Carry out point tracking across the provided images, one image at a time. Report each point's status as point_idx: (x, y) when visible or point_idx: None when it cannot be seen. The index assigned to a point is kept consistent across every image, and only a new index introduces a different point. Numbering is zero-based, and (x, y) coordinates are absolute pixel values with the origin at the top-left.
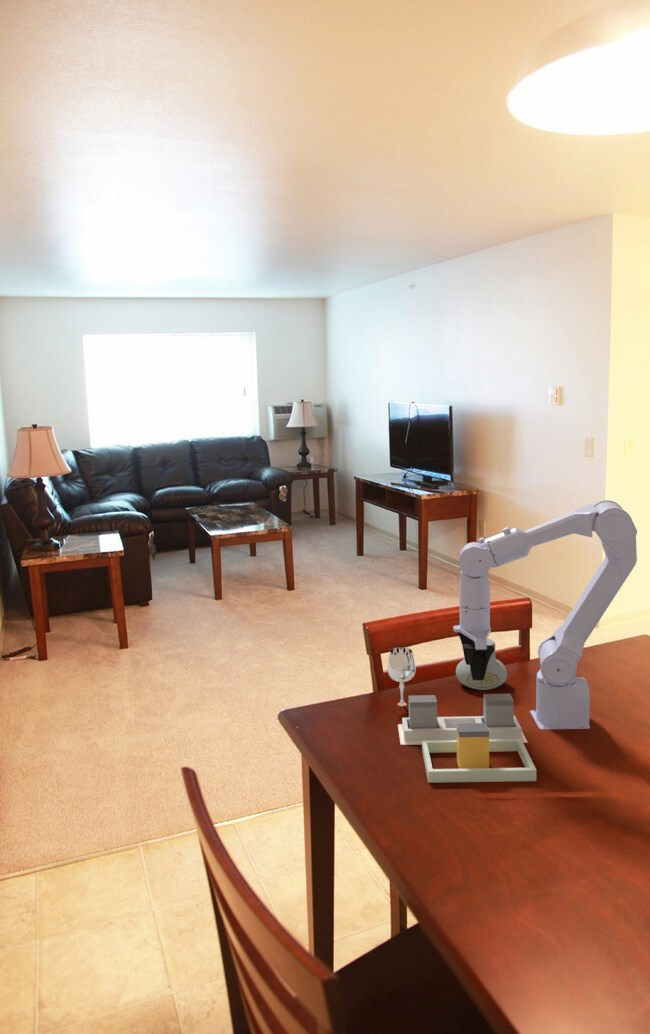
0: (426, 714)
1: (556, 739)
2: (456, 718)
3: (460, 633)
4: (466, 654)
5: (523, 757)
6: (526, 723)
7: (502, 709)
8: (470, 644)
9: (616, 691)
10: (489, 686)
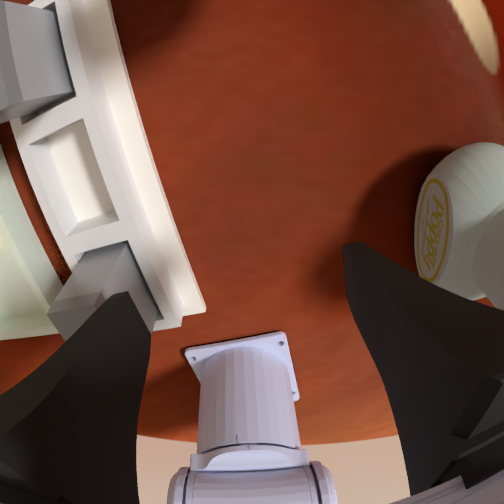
0: None
1: (162, 367)
2: (98, 161)
3: (466, 400)
4: (370, 285)
5: (21, 324)
6: (222, 323)
7: None
8: (29, 485)
9: (382, 421)
10: (418, 241)
